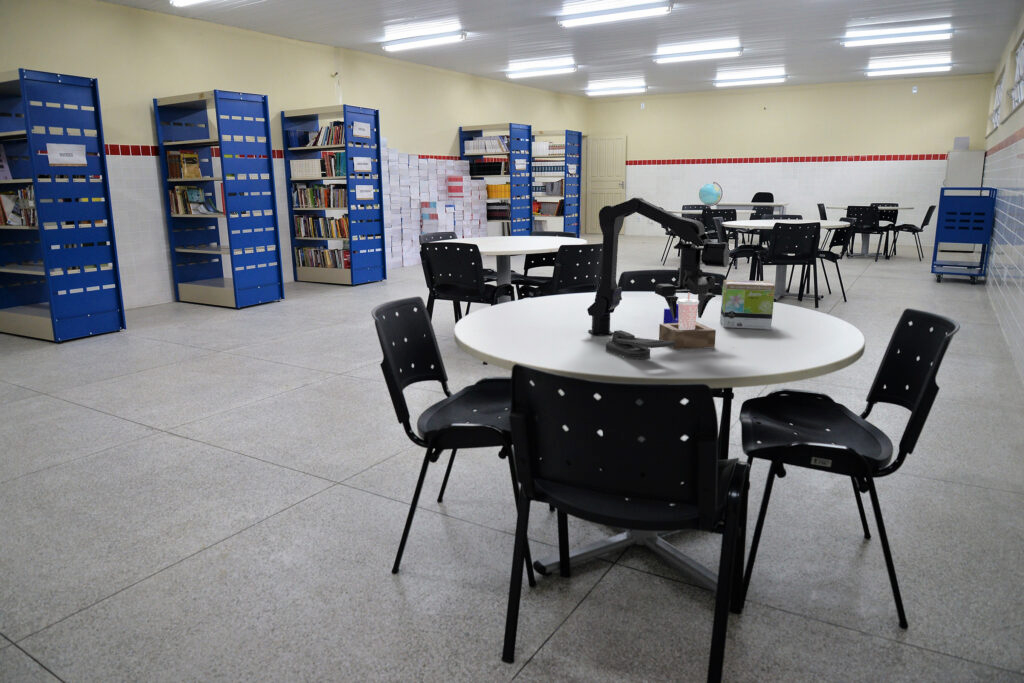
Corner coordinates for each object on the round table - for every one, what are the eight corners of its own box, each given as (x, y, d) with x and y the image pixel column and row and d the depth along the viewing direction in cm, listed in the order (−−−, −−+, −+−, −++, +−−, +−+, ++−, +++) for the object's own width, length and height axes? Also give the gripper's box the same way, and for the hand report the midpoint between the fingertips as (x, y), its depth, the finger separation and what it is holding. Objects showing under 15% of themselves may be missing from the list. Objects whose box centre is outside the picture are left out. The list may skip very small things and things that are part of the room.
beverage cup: (679, 333, 196) (682, 285, 192) (673, 328, 202) (675, 281, 198) (700, 332, 196) (703, 284, 193) (693, 328, 202) (696, 281, 199)
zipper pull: (649, 344, 170) (601, 326, 193) (648, 370, 172) (601, 348, 195) (679, 341, 174) (628, 323, 196) (678, 366, 175) (628, 345, 198)
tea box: (723, 328, 220) (726, 283, 217) (719, 322, 230) (722, 279, 226) (771, 330, 217) (775, 284, 214) (766, 323, 227) (769, 280, 224)
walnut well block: (658, 340, 204) (659, 323, 203) (695, 338, 207) (696, 322, 205) (675, 349, 193) (676, 332, 192) (714, 347, 195) (715, 330, 194)
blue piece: (668, 320, 235) (669, 303, 234) (681, 321, 233) (682, 304, 232) (658, 326, 225) (659, 308, 224) (672, 327, 223) (673, 309, 221)
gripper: (671, 269, 185) (668, 325, 189) (734, 267, 189) (730, 322, 192) (655, 264, 196) (652, 317, 199) (715, 263, 199) (711, 315, 203)
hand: (687, 318), depth 198 cm, fingers closed on beverage cup, 8 cm apart
